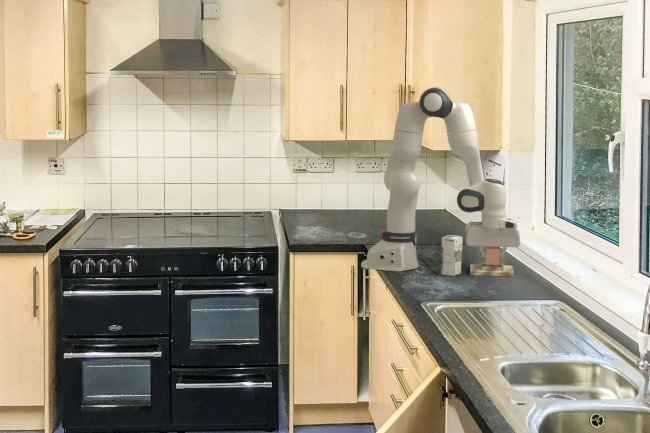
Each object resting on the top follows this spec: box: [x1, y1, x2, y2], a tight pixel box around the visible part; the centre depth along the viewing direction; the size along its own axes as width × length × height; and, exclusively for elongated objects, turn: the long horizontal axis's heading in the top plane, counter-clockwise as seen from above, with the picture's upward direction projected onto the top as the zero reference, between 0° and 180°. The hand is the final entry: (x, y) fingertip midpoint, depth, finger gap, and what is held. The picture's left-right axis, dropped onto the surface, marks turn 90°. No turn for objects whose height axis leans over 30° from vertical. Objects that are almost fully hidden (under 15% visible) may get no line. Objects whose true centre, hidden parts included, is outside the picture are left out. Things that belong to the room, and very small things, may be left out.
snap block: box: [485, 247, 501, 265], centre depth 334 cm, size 5×5×6 cm
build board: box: [469, 262, 515, 278], centre depth 334 cm, size 16×12×2 cm
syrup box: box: [440, 234, 464, 277], centre depth 330 cm, size 6×6×14 cm
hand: (492, 258), depth 334 cm, fingers closed on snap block, 5 cm apart
